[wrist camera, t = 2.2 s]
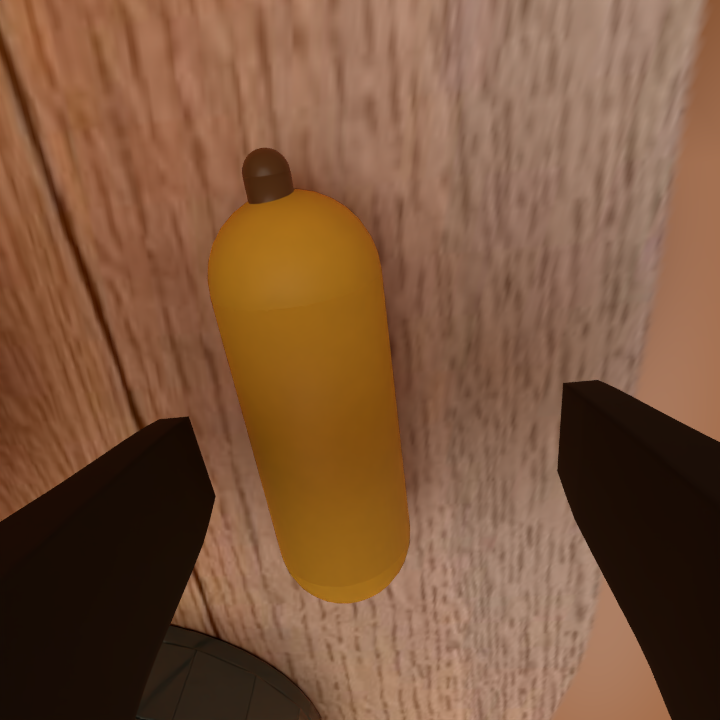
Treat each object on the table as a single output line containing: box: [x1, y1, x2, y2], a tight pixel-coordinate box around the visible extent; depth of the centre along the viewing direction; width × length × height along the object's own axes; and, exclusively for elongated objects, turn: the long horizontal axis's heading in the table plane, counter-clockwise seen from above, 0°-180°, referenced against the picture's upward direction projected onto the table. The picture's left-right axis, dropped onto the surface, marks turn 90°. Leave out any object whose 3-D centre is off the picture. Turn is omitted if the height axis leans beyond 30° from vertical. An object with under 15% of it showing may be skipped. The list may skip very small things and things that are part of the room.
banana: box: [208, 148, 410, 603], centre depth 10 cm, size 10×3×3 cm
